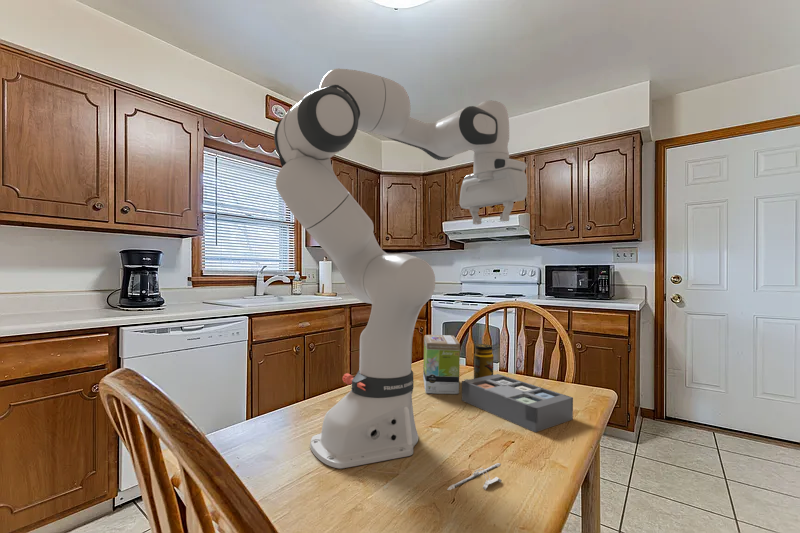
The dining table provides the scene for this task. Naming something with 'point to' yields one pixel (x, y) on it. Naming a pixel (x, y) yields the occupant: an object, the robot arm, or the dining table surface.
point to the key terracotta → (485, 386)
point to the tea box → (441, 364)
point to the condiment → (483, 361)
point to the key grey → (504, 383)
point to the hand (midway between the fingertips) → (490, 222)
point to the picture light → (477, 476)
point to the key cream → (524, 390)
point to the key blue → (542, 396)
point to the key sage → (526, 400)
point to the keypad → (518, 402)
